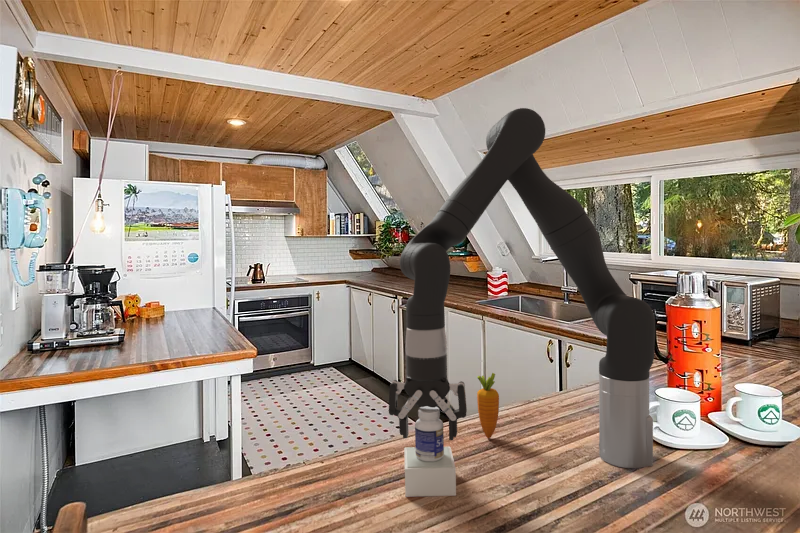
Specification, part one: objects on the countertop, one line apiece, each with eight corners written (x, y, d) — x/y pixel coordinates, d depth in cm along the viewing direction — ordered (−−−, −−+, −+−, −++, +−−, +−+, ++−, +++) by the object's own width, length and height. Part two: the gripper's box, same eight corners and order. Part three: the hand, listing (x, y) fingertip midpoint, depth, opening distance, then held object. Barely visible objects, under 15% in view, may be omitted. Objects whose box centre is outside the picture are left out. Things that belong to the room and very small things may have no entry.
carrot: (475, 441, 109) (474, 375, 108) (480, 433, 114) (479, 369, 113) (497, 444, 107) (496, 377, 106) (501, 435, 112) (500, 371, 111)
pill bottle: (442, 463, 87) (441, 414, 87) (413, 461, 88) (412, 413, 88) (445, 450, 92) (444, 405, 92) (418, 449, 94) (417, 403, 93)
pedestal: (450, 471, 95) (450, 445, 95) (456, 495, 86) (455, 466, 86) (404, 472, 95) (404, 446, 95) (405, 496, 86) (404, 468, 86)
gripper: (466, 347, 92) (467, 431, 93) (392, 346, 94) (394, 428, 95) (464, 356, 84) (466, 448, 85) (384, 355, 87) (386, 444, 88)
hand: (428, 437), depth 90 cm, fingers open, 8 cm apart
